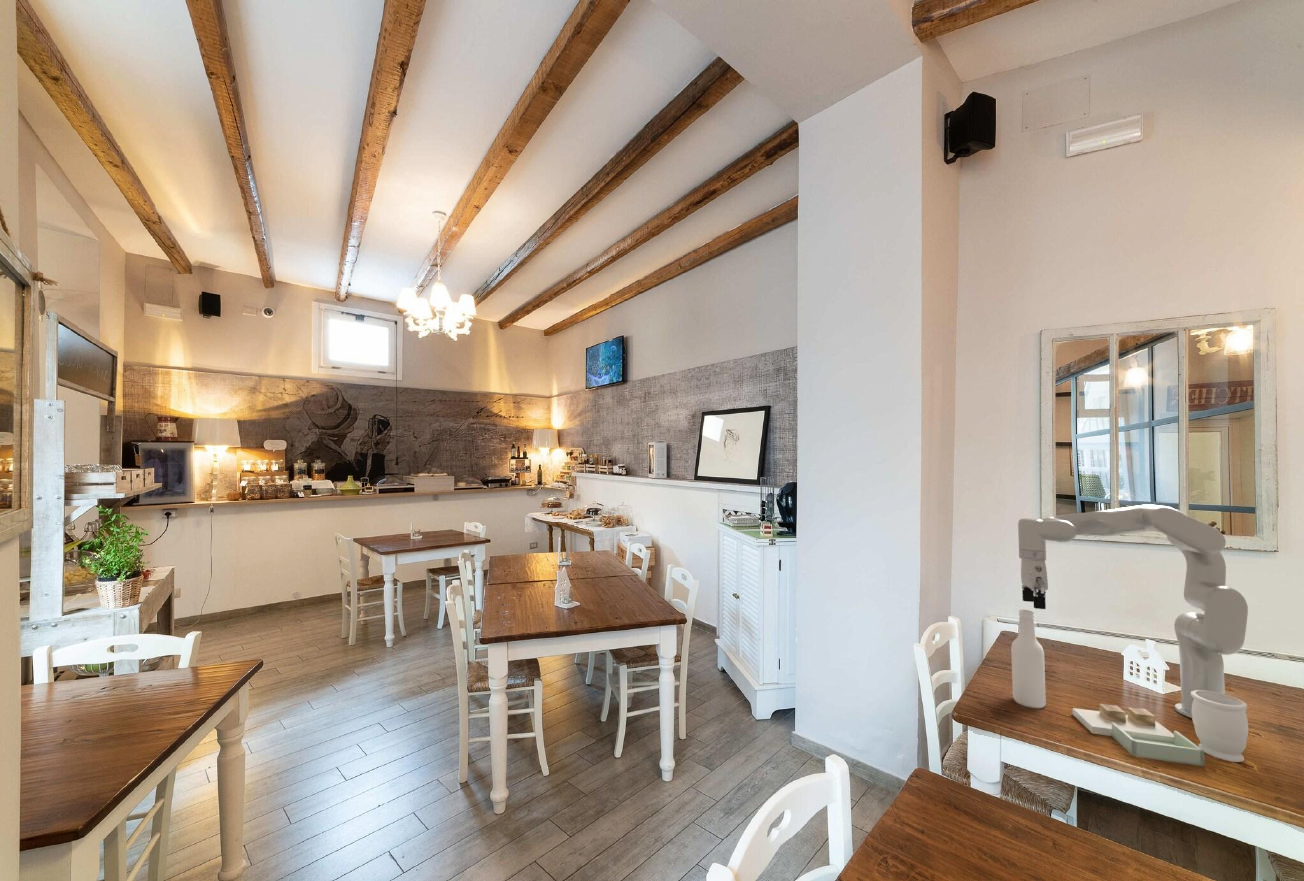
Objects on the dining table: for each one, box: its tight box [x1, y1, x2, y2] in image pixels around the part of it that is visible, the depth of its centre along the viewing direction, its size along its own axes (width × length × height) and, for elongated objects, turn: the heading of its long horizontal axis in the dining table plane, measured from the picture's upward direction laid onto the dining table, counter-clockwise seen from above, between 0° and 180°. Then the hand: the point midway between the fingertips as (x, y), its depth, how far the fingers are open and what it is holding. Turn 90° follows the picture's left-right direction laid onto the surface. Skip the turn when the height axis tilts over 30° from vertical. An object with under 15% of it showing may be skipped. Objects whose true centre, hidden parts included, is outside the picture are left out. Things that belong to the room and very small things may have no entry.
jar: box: [1191, 690, 1249, 763], centre depth 139 cm, size 11×10×15 cm
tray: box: [1111, 723, 1206, 767], centre depth 140 cm, size 15×10×4 cm
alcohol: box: [1010, 609, 1047, 709], centre depth 169 cm, size 9×9×30 cm
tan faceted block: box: [1126, 706, 1156, 727], centre depth 152 cm, size 4×4×3 cm
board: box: [1072, 707, 1174, 743], centre depth 152 cm, size 20×12×2 cm, turn 72°
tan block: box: [1098, 703, 1127, 723], centre depth 155 cm, size 4×4×3 cm
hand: (1033, 604), depth 175 cm, fingers open, 9 cm apart
